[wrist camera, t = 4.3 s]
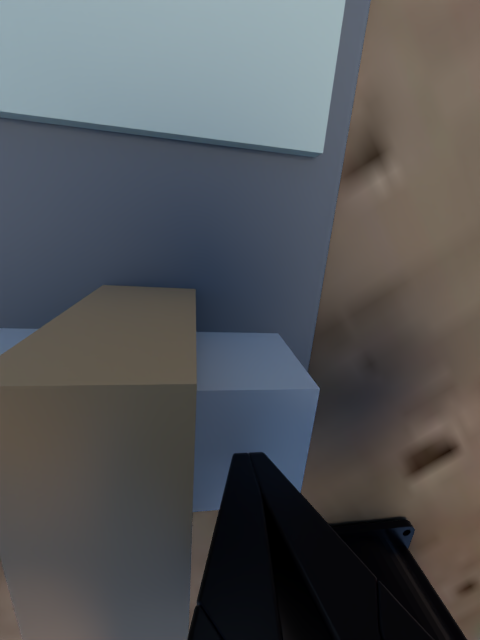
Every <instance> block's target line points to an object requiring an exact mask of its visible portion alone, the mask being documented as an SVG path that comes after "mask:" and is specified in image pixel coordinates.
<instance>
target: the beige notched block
mask: <svg viewBox="0 0 480 640" xmlns="http://www.w3.org/2000/svg"><path fill="white" fill-rule="evenodd" d="M196 395H197V358H196V289H185V288H162V287H139V286H115V285H102V286H101V287H99V288H98V289H97V290H95V291H94V292H92V293H91V294H89V295H88V296H86V297H85V298H83V299H82V300H80V301H79V302H77V303H76V304H75V305H73V306H72V307H70V308H69V309H67V310H66V311H64V312H63V313H61V314H60V315H58V316H57V317H56V318H54V319H53V320H51V321H50V322H48V323H47V324H45V325H44V326H42V327H41V328H39V329H38V330H37V331H35V332H34V333H32V334H31V335H29V336H28V337H26V338H25V339H23V340H22V341H20V342H19V343H17V344H16V345H15V346H13V347H12V348H10V349H9V350H7V351H6V352H4V353H3V354H1V355H0V559H1V562H2V566H3V570H4V574H5V577H6V581H7V585H8V588H9V592H10V596H11V600H12V603H13V607H14V611H15V614H16V618H17V622H18V625H19V629H20V633H21V637H22V640H187V638H188V632H189V602H190V573H191V543H192V513H193V484H194V454H195V424H196Z"/></svg>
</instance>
